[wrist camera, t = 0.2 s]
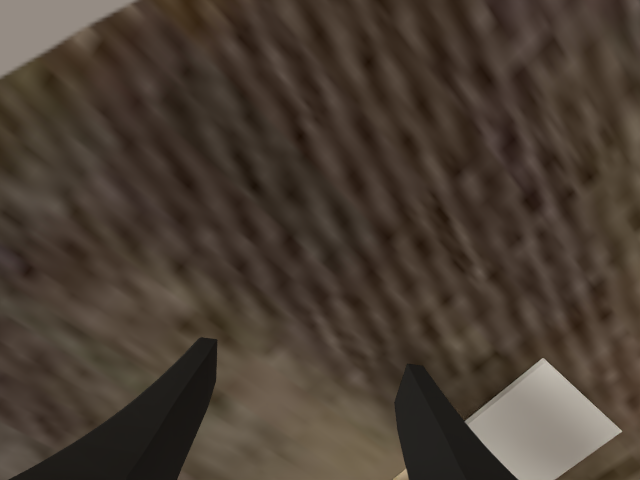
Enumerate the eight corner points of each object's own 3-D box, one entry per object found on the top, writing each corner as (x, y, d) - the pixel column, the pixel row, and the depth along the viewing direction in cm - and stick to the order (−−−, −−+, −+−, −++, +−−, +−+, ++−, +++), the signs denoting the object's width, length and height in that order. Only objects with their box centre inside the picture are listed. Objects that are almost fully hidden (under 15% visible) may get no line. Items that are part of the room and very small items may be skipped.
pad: (524, 494, 28) (527, 498, 28) (449, 433, 26) (451, 437, 26) (617, 427, 26) (622, 431, 26) (543, 357, 25) (546, 361, 24)
